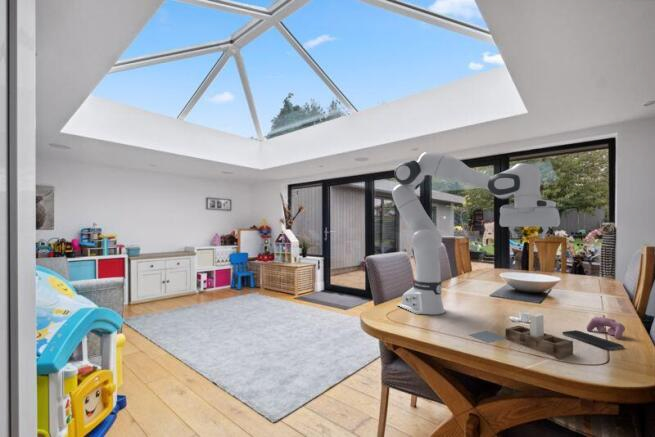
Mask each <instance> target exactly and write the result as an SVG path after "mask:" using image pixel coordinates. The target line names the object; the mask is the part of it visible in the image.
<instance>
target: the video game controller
mask: <svg viewBox="0 0 655 437" xmlns="http://www.w3.org/2000/svg"><path fill="white" fill-rule="evenodd" d="M606 327H609V328H608V329H607V330H606ZM595 328H596V330H597V331H598V332H599V333H602V334H603V333H605V332H607V333H608V335H610V336H611V337H612V336H613V337H614V338H615V340H619V339H621V338H622V337H623V334H624V332H625V329H626V327H625V325H624V324H623V323H621V322H619V321H618V320H615V319H612V318H609V317H604V316H601V317H600V316H595V317H592V318H591V319H590V321H589V322H588V324H587V325H586V331H587V332H591V331H593V330H594V329H595Z"/></svg>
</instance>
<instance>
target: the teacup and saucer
mask: <svg viewBox="0 0 655 437" xmlns="http://www.w3.org/2000/svg"><path fill="white" fill-rule="evenodd" d="M518 313H519V317H516V316H512V315H511V316H509V319H510V321H512V322H514V323H517V324H520V325H527V326H530V323H528V322H530V318H529V317H530V315H531V314H529V312H527V311H526V312H525V311H519V312H518Z"/></svg>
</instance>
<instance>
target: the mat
mask: <svg viewBox="0 0 655 437" xmlns="http://www.w3.org/2000/svg"><path fill="white" fill-rule="evenodd" d="M468 336H469V337H471V338H475V339H477V340H480V341H482V342H484V343H487V344H490V343H493V342H496V341H500V340H505V339H506V336H502V335H500V334H497V333H494V332H492V331H489V330H482V331H479V332H475V333H471V334H468Z"/></svg>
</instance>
